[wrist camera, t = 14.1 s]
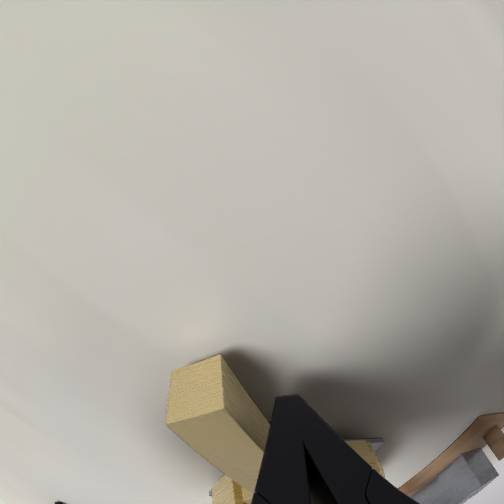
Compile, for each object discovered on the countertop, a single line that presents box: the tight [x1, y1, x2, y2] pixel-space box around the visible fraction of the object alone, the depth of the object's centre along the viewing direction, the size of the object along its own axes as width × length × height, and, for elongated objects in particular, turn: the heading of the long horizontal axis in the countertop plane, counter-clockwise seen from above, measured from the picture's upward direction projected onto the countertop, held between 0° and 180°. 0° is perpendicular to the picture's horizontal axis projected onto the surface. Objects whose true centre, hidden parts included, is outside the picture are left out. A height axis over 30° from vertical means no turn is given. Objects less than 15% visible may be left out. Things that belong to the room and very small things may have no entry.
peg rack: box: [399, 413, 504, 497], centre depth 16 cm, size 19×7×4 cm, turn 155°
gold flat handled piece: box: [166, 354, 385, 504], centre depth 10 cm, size 14×8×2 cm, turn 23°
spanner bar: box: [410, 448, 499, 504], centre depth 15 cm, size 12×4×4 cm, turn 155°
